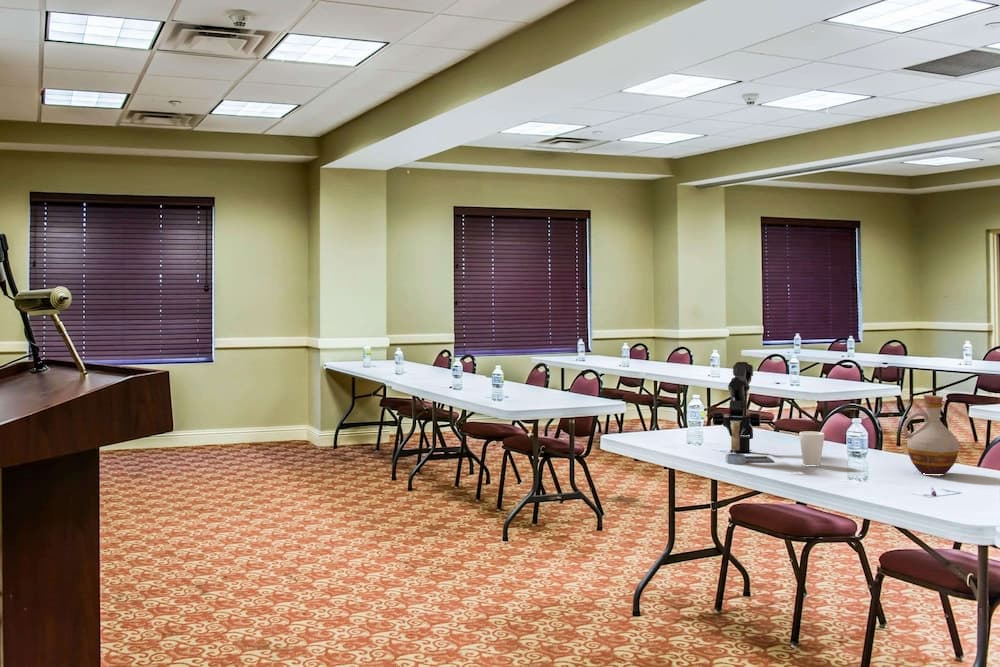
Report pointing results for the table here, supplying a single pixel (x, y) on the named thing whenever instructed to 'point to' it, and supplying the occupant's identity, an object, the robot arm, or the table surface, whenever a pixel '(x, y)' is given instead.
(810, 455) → the foam cup
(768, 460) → the tray
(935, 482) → the table surface
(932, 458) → the jug
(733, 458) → the gray square block
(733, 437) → the dowel
